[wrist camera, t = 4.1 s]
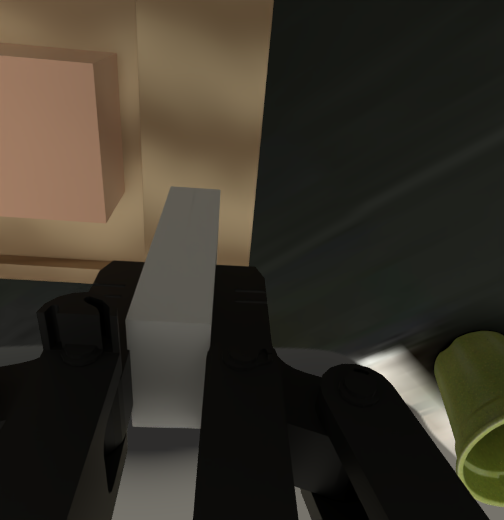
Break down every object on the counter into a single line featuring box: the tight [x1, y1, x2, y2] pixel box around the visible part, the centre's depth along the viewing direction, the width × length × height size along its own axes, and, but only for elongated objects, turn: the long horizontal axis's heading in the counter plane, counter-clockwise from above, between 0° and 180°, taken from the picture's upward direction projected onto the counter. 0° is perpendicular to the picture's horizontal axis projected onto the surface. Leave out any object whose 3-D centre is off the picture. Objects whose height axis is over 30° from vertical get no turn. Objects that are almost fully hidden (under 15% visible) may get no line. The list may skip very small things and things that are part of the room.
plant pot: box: [434, 331, 504, 507], centre depth 31 cm, size 9×9×9 cm
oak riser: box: [0, 0, 274, 284], centre depth 24 cm, size 18×19×4 cm
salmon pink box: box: [0, 43, 125, 223], centre depth 21 cm, size 7×8×4 cm
